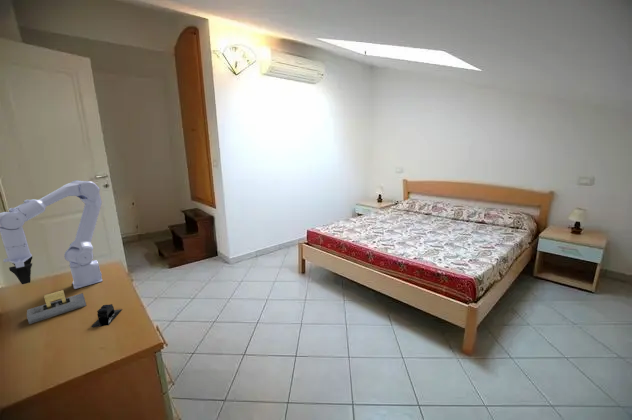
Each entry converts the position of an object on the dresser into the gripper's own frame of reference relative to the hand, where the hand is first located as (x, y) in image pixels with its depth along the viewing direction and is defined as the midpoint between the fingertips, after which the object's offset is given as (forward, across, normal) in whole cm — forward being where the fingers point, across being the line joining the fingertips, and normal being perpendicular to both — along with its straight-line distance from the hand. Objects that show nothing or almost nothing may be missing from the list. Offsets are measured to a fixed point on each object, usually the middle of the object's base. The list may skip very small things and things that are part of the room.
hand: (26, 279), depth 103 cm
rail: (+10, +14, +6) cm, 18 cm away
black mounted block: (+11, +32, +18) cm, 38 cm away
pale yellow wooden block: (+9, +14, +6) cm, 18 cm away
